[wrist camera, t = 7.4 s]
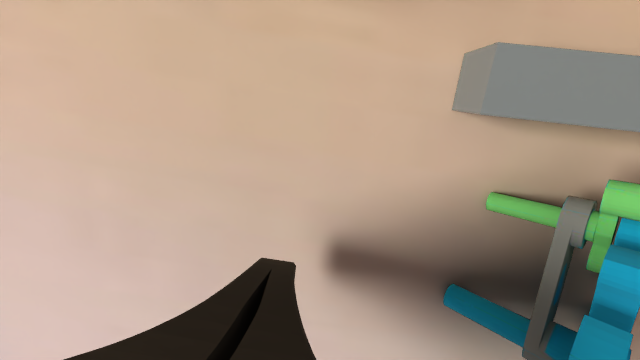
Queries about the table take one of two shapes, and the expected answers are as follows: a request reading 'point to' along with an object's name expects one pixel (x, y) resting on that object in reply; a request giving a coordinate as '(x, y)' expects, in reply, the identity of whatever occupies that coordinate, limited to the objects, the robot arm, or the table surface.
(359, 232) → the table surface
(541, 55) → the gear frame
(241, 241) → the table surface
